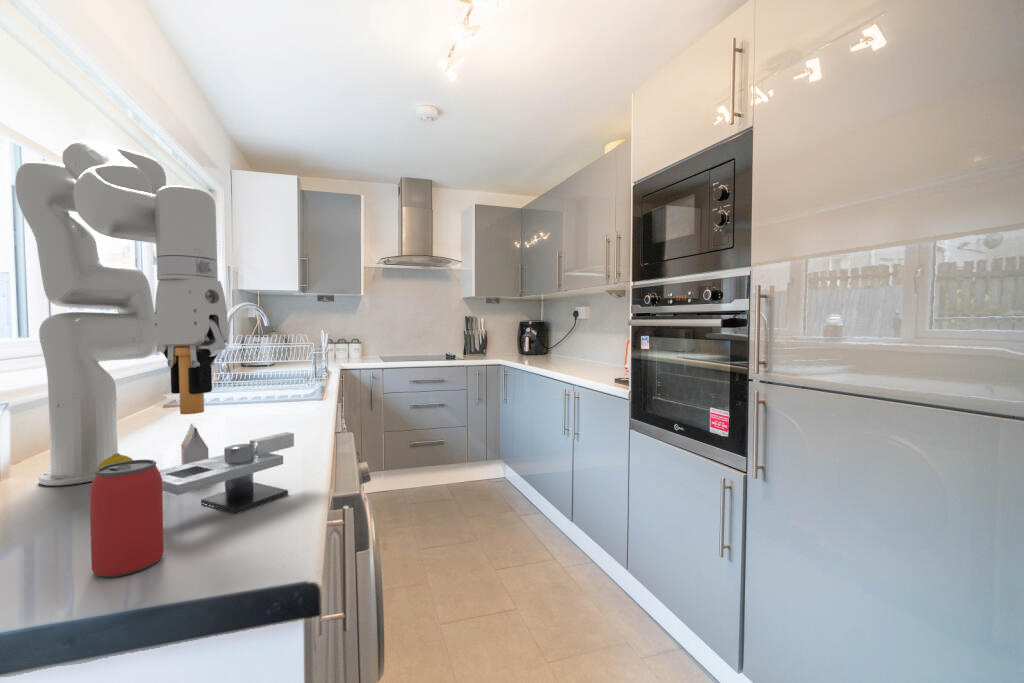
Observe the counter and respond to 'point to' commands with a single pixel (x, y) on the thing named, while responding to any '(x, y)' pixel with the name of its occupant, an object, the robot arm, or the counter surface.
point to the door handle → (232, 474)
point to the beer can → (126, 518)
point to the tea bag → (193, 447)
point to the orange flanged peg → (187, 384)
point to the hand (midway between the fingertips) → (191, 391)
